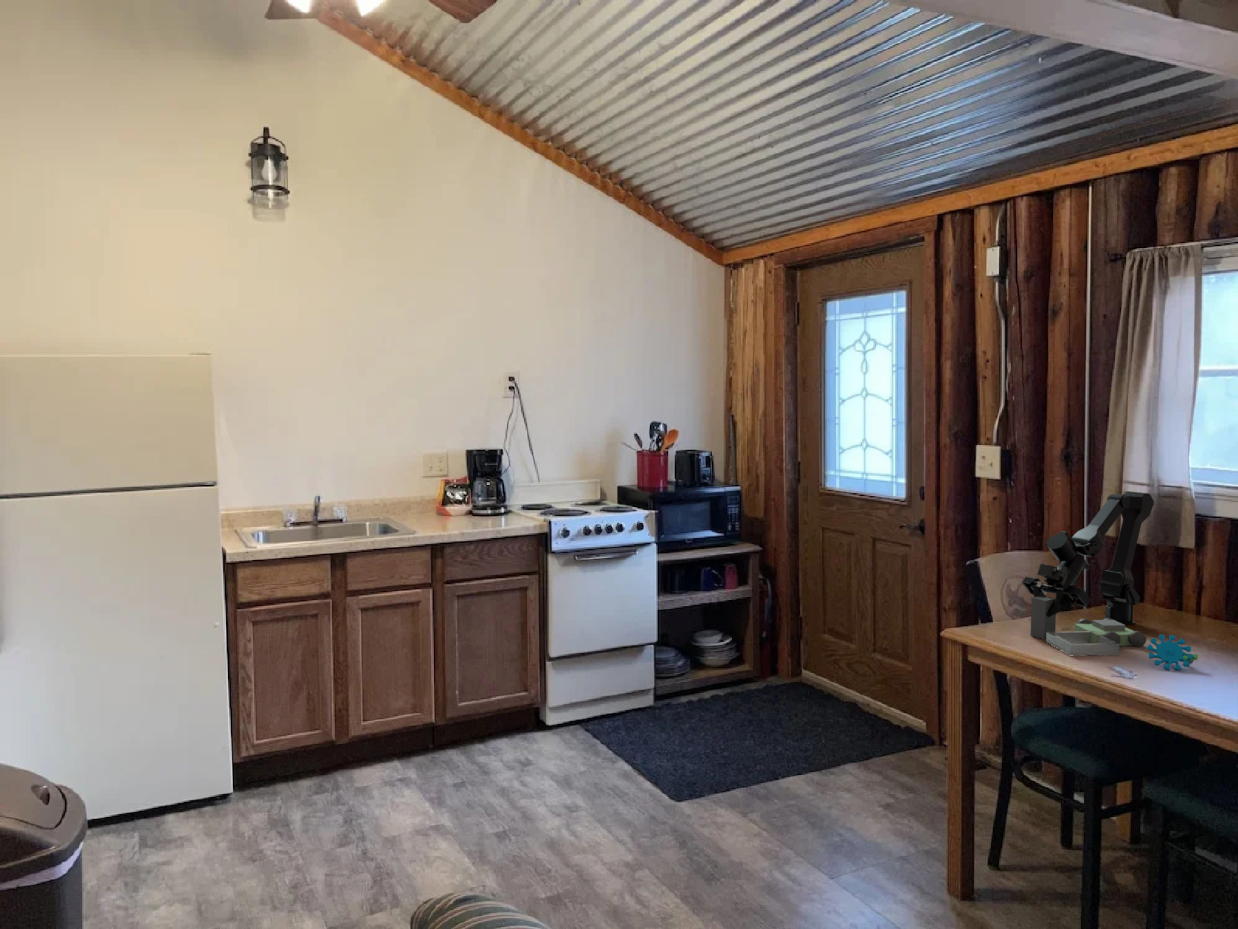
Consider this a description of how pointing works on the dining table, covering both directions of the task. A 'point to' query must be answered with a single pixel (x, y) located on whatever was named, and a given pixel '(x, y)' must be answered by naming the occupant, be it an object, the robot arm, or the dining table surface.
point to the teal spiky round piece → (1171, 652)
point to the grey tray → (1082, 643)
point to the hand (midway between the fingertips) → (1040, 614)
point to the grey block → (1041, 617)
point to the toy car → (1111, 631)
